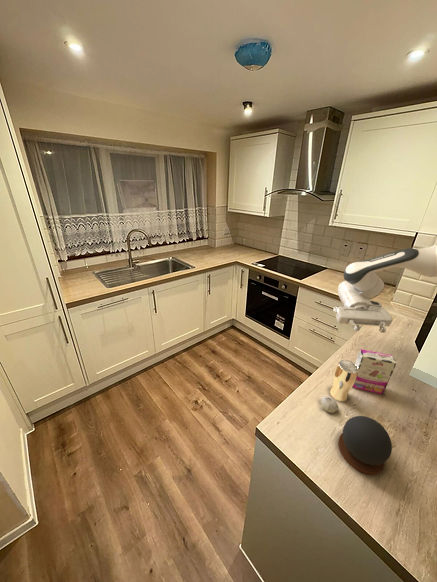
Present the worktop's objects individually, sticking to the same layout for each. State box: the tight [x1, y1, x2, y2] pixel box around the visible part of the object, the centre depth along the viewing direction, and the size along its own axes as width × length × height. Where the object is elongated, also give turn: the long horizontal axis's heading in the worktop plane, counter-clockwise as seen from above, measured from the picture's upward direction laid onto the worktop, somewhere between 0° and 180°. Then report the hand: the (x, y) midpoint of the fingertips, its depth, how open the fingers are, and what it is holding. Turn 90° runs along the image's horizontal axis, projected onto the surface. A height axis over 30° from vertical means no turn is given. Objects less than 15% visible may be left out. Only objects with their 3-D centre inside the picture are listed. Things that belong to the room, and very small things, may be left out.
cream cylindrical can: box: [329, 359, 359, 402], centre depth 86 cm, size 7×7×15 cm
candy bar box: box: [352, 348, 397, 395], centre depth 90 cm, size 11×5×16 cm, turn 73°
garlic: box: [320, 395, 339, 414], centre depth 83 cm, size 6×5×5 cm
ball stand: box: [337, 415, 393, 476], centre depth 68 cm, size 12×12×13 cm
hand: (370, 330), depth 89 cm, fingers open, 8 cm apart
